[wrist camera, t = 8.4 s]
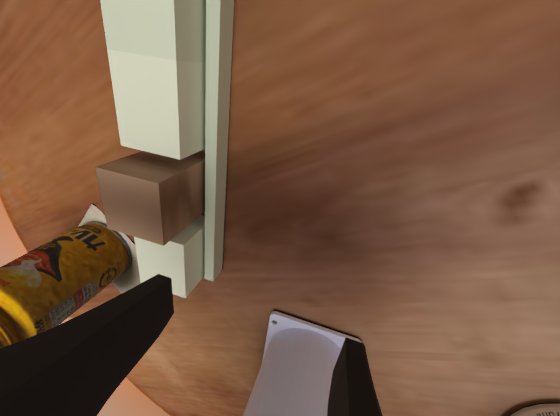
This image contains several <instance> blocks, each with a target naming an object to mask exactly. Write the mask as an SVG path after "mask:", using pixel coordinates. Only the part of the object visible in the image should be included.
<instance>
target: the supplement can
mask: <svg viewBox="0 0 560 416" xmlns="http://www.w3.org/2000/svg"><path fill="white" fill-rule="evenodd" d="M511 416H560V403H559V404H538V405H534V406H530V407H525V408H522V409H520V410H519V411H517V412H515V413H514V414H512V415H511Z"/></svg>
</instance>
